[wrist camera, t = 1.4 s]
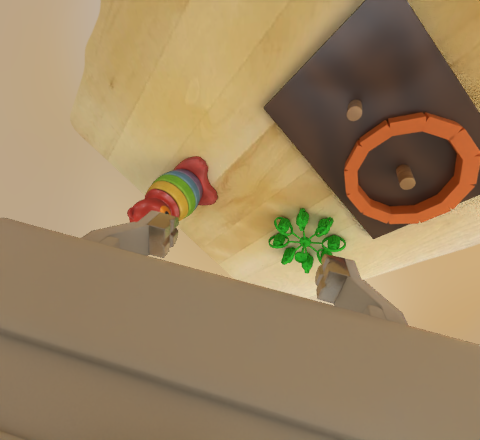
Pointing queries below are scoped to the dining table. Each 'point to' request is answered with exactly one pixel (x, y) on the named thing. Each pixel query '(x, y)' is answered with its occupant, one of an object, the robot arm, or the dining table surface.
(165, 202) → the stacking bear
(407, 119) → the ring
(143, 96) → the dining table surface
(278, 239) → the chandelier
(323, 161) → the ring toss board
